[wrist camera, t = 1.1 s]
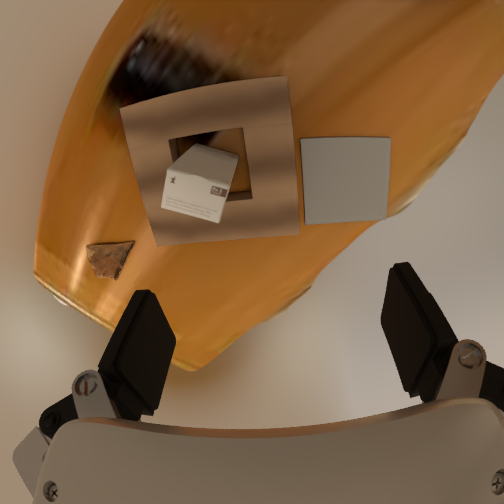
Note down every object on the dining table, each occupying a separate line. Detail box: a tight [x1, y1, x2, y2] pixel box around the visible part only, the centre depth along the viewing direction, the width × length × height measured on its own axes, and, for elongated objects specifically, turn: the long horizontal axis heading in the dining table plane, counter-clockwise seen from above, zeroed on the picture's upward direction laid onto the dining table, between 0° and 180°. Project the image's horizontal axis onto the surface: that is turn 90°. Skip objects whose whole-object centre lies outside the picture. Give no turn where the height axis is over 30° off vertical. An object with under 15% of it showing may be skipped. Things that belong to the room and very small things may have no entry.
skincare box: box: [161, 143, 239, 223], centre depth 29 cm, size 6×4×12 cm
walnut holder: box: [120, 76, 300, 246], centre depth 33 cm, size 20×20×3 cm
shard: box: [86, 241, 134, 280], centre depth 44 cm, size 11×8×2 cm
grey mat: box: [300, 137, 391, 225], centre depth 34 cm, size 12×12×1 cm
